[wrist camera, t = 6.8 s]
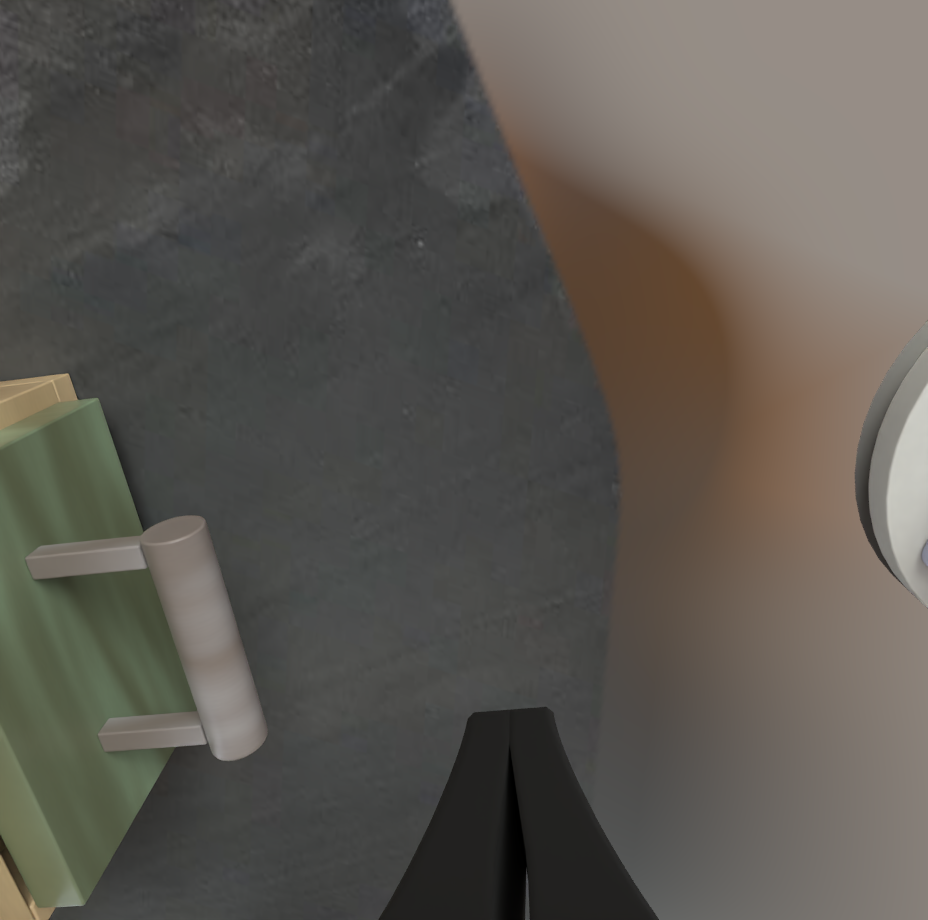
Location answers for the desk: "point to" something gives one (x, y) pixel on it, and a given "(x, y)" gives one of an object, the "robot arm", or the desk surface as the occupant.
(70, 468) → the drawer
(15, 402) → the cabinet
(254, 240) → the desk surface
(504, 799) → the robot arm
